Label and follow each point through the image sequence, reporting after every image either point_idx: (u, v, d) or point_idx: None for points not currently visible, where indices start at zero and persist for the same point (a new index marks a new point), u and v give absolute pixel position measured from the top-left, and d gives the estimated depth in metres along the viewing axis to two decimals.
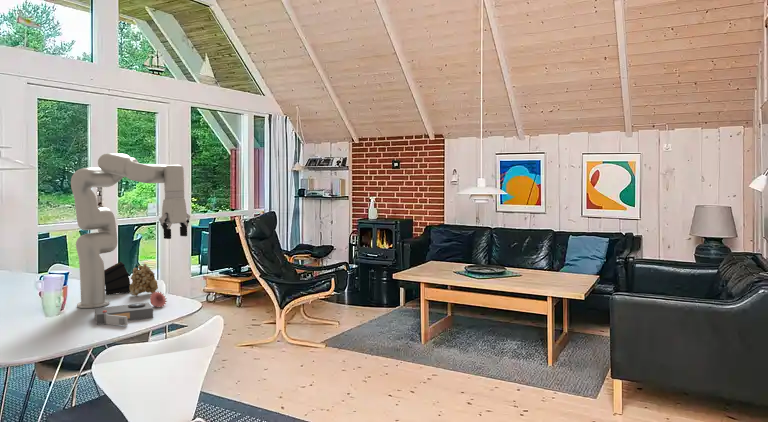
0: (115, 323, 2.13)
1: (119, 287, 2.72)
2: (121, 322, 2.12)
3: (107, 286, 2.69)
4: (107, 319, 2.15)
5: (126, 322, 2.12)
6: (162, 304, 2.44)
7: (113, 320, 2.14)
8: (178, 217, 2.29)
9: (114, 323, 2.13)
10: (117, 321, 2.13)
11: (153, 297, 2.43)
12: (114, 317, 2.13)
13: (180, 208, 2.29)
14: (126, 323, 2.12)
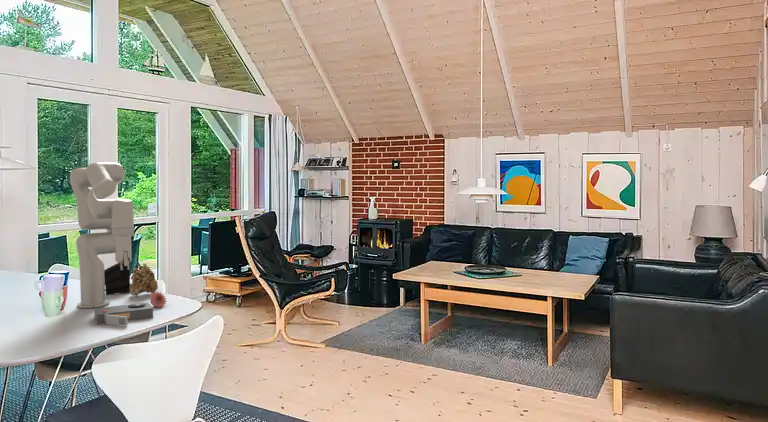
0: (115, 323, 2.13)
1: (119, 287, 2.72)
2: (121, 322, 2.12)
3: (107, 286, 2.69)
4: (107, 319, 2.15)
5: (126, 322, 2.12)
6: (162, 304, 2.44)
7: (113, 320, 2.14)
8: None
9: (114, 323, 2.13)
10: (117, 321, 2.13)
11: (153, 297, 2.43)
12: (114, 317, 2.13)
13: None
14: (126, 323, 2.12)
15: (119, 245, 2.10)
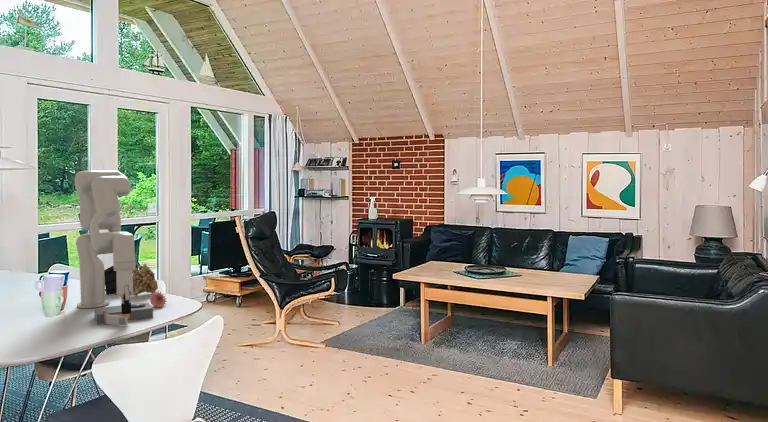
0: (115, 323, 2.13)
1: None
2: (121, 322, 2.12)
3: (107, 286, 2.69)
4: (107, 319, 2.15)
5: (126, 322, 2.12)
6: (162, 304, 2.44)
7: (113, 320, 2.14)
8: None
9: (114, 323, 2.13)
10: (117, 321, 2.13)
11: (153, 297, 2.43)
12: (114, 317, 2.13)
13: None
14: (126, 323, 2.12)
15: (120, 279, 2.10)
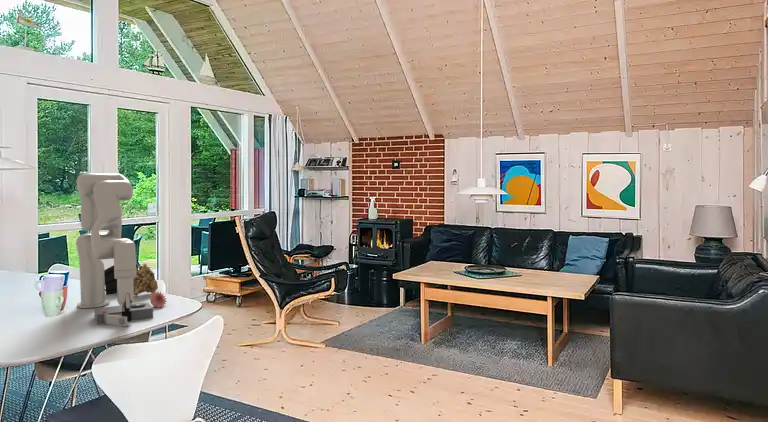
0: (115, 323, 2.13)
1: None
2: (121, 322, 2.11)
3: (107, 286, 2.69)
4: (107, 319, 2.15)
5: (126, 322, 2.12)
6: (162, 304, 2.44)
7: (112, 320, 2.14)
8: None
9: (114, 323, 2.13)
10: (117, 321, 2.13)
11: (153, 297, 2.43)
12: (114, 317, 2.13)
13: None
14: (126, 323, 2.12)
15: (121, 287, 2.09)
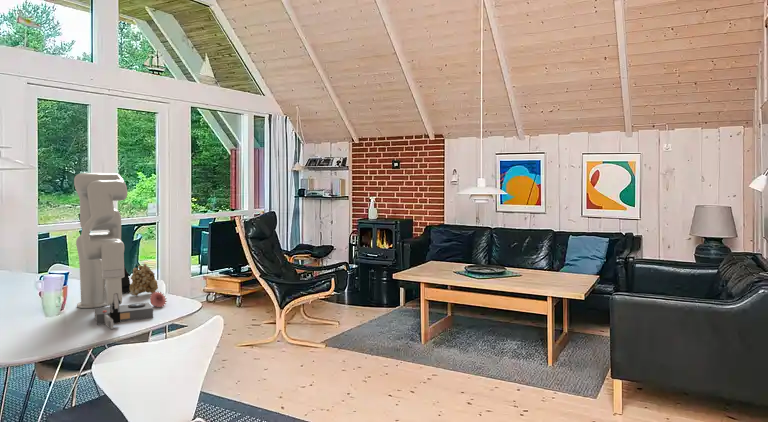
0: (107, 325, 2.11)
1: None
2: (108, 325, 2.08)
3: None
4: (105, 320, 2.14)
5: (112, 325, 2.07)
6: (162, 304, 2.44)
7: (107, 321, 2.12)
8: None
9: (107, 324, 2.12)
10: (108, 323, 2.10)
11: (153, 297, 2.43)
12: (107, 318, 2.11)
13: None
14: (112, 326, 2.08)
15: (109, 288, 2.06)
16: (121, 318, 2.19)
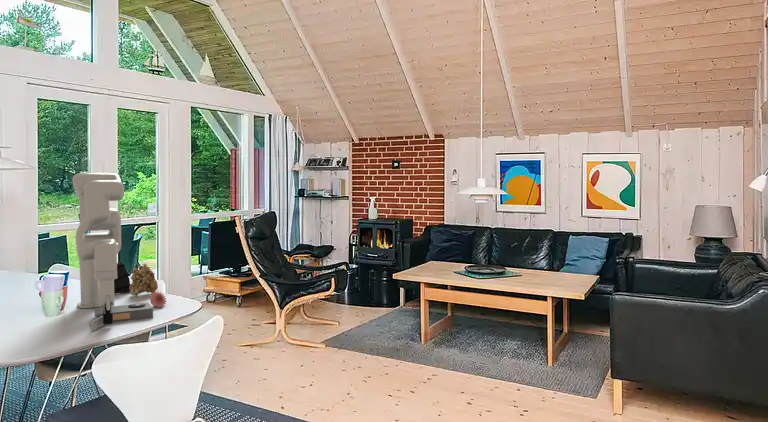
0: None
1: (119, 287, 2.72)
2: None
3: None
4: None
5: (92, 327, 2.05)
6: (162, 304, 2.44)
7: None
8: None
9: None
10: None
11: (153, 297, 2.43)
12: None
13: None
14: (92, 328, 2.05)
15: (101, 289, 2.05)
16: (121, 318, 2.19)
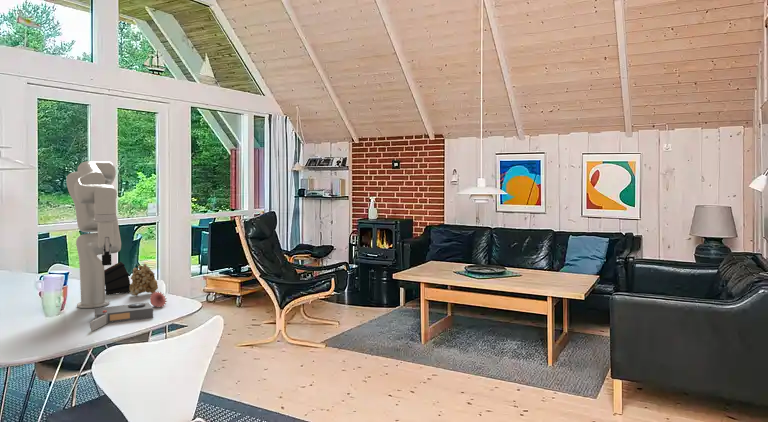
0: None
1: (119, 287, 2.72)
2: None
3: (107, 286, 2.69)
4: None
5: (92, 327, 2.05)
6: (162, 304, 2.44)
7: None
8: None
9: None
10: None
11: (153, 297, 2.43)
12: None
13: None
14: (92, 328, 2.05)
15: (101, 231, 2.14)
16: (121, 318, 2.19)
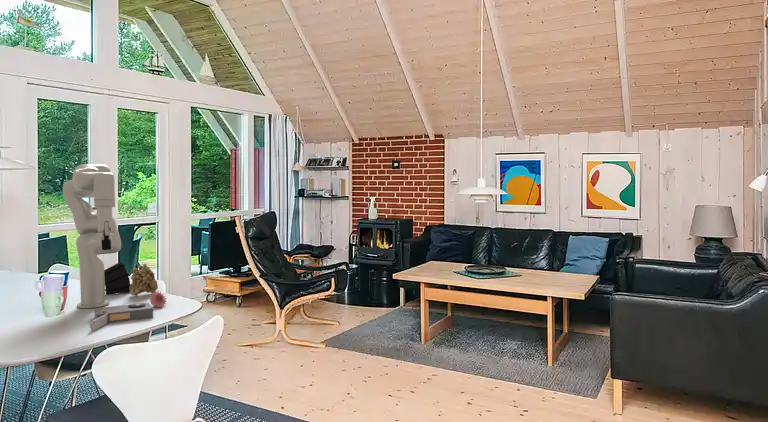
0: None
1: (119, 287, 2.72)
2: None
3: (107, 286, 2.69)
4: None
5: (92, 327, 2.05)
6: (162, 304, 2.44)
7: None
8: None
9: None
10: None
11: (153, 297, 2.43)
12: None
13: None
14: (92, 328, 2.05)
15: (100, 215, 2.20)
16: (121, 318, 2.19)
